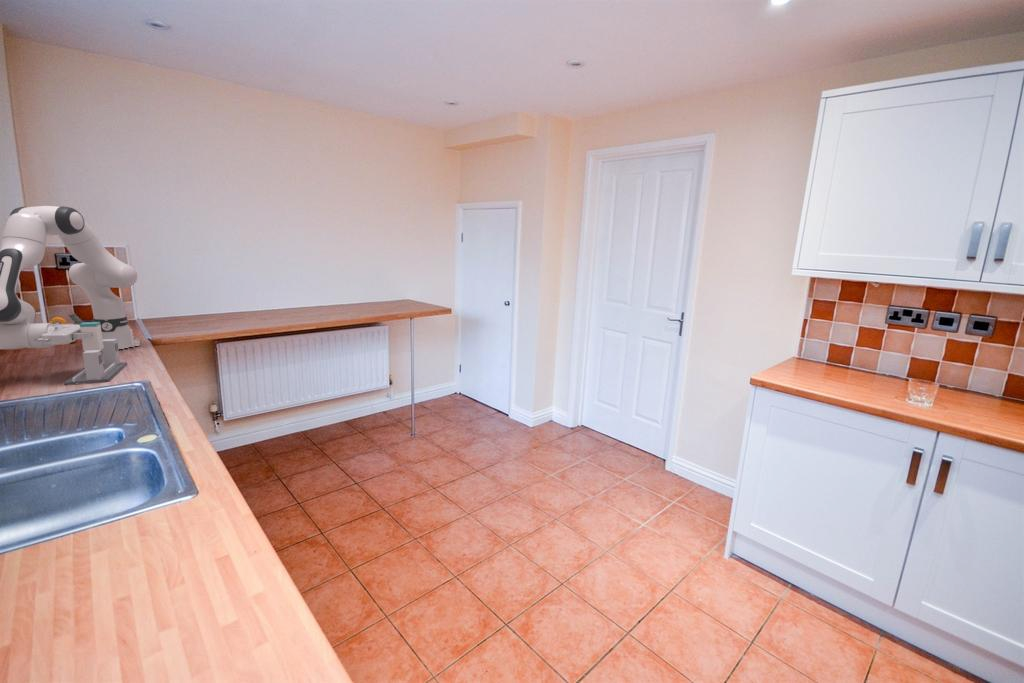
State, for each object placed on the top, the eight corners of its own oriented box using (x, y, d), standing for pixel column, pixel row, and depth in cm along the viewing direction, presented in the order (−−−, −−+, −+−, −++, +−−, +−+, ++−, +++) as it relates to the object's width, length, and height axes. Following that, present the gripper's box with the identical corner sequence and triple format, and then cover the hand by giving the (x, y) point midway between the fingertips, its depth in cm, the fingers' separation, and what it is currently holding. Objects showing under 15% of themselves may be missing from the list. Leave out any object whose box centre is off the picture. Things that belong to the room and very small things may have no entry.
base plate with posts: (88, 367, 183) (84, 339, 181) (127, 364, 189) (123, 338, 186) (64, 385, 162) (59, 354, 159) (108, 381, 167) (104, 352, 165)
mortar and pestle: (101, 332, 242) (97, 310, 240) (101, 336, 235) (98, 312, 233) (71, 335, 235) (68, 311, 232) (71, 338, 228) (67, 314, 225)
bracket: (43, 346, 212) (38, 320, 210) (45, 342, 218) (41, 317, 215) (75, 343, 219) (71, 318, 216) (76, 340, 224) (73, 316, 222)
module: (88, 348, 174) (84, 322, 172) (103, 347, 176) (100, 321, 174) (83, 351, 170) (79, 324, 168) (99, 350, 172) (95, 323, 170)
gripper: (30, 332, 156) (83, 330, 163) (54, 322, 174) (102, 320, 180) (33, 350, 158) (86, 347, 164) (57, 338, 175) (104, 336, 182)
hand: (94, 333), depth 172 cm, fingers closed on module, 5 cm apart
